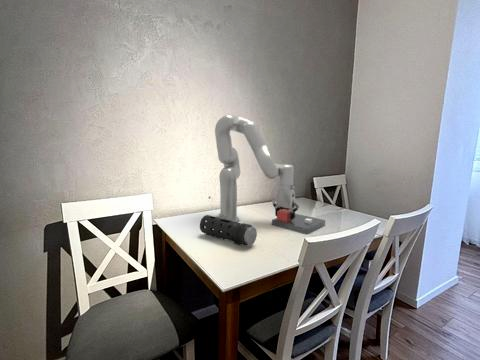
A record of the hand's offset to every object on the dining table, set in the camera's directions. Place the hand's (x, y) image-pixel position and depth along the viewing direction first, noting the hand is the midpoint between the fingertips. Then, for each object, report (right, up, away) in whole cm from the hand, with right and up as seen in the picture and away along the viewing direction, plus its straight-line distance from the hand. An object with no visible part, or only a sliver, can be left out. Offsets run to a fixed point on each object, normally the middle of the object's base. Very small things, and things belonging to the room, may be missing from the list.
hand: (284, 217), depth 162 cm
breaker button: (+12, -5, -4) cm, 14 cm away
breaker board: (+8, -4, 0) cm, 9 cm away
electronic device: (+7, +1, +35) cm, 35 cm away
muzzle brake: (-31, -8, -24) cm, 40 cm away
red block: (0, -1, 0) cm, 1 cm away
